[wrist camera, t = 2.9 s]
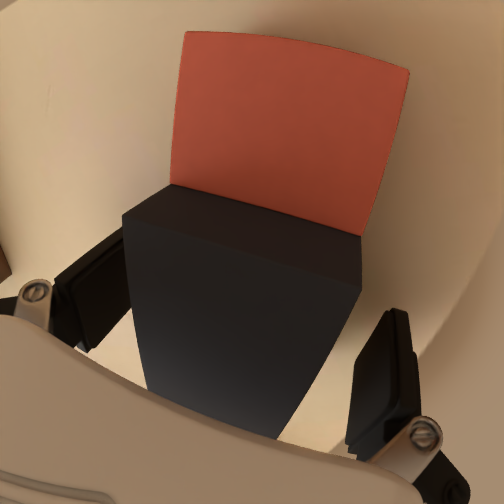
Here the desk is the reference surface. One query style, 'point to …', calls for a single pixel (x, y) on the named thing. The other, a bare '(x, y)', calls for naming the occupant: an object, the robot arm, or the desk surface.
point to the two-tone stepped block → (258, 222)
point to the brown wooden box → (3, 267)
